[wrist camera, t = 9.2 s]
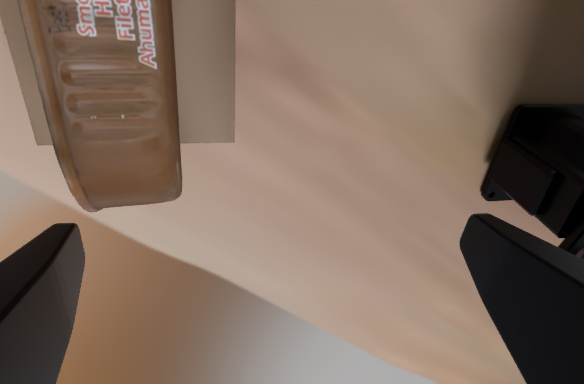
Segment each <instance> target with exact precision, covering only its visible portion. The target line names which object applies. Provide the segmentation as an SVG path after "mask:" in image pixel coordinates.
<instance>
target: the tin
mask: <svg viewBox="0 0 584 384" xmlns="http://www.w3.org/2000/svg"><path fill="white" fill-rule="evenodd" d="M17 2H18V6H19V12H20V15H21V19H22V23H23V27H24V32H25V36H26V41H27V45H28V48H29V52H30V55H31V59H32V62H33V67H34V71H35V75H36V79H37V83H38V88H39V92H40V95H41V99H42V104H43V109H44V113H45V117H46V120H47V124H48V128H49V132H50V135H51V139H52V143H53V147H54V150H55V153H56V156H57V159H58V162H59V165H60V168H61V170H62V173H63V175H64V177H65V179H66V182H67V184H68V187H69V189H70V191H71V193H72V195H73V196H74V197H75V199H76V201H77V202H78V204H79V205H80V206H81V207H82V208H83V209H84V210H86V211H88V212H97V211H99V210H101V209H103V208H109V207H121V206H133V205H145V204H155V203H162V202H167V201H173V200H175V199H177V198H178V197H179V196H180V195H181V192H182V170H181V154H180V134H179V115H178V99H177V81H176V63H175V47H174V31H173V14H172V0H17Z"/></svg>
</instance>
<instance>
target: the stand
mask: <svg viewBox="0 0 584 384" xmlns="http://www.w3.org/2000/svg"><path fill="white" fill-rule="evenodd" d="M172 14H173V31H174V47H175V63H176V81H177V99H178V115H179V134H180V143H234V142H235V0H172ZM0 16H1V20H2V23H3V27H4V30H5V34H6V38H7V41H8V45H9V48H10V52H11V55H12V59H13V62H14V66H15V69H16V73H17V76H18V80H19V83H20V87H21V90H22V94H23V97H24V101H25V104H26V108H27V112H28V115H29V119H30V122H31V126H32V129H33V133H34V136H35V140H36V143H37V145H53V143H52V139H51V135H50V132H49V128H48V124H47V120H46V117H45V113H44V109H43V104H42V99H41V95H40V92H39V88H38V83H37V79H36V75H35V71H34V67H33V62H32V59H31V55H30V52H29V48H28V45H27V41H26V36H25V32H24V27H23V23H22V19H21V15H20V12H19V6H18V2H17V0H0Z"/></svg>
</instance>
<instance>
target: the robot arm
mask: <svg viewBox="0 0 584 384" xmlns="http://www.w3.org/2000/svg"><path fill="white" fill-rule="evenodd" d="M523 112H524V114H523V115H522V113H523ZM521 115H522V116H521ZM489 193H490V194H489ZM481 195H482V197H483V198H484V199H485V200H486V201H503V200H514V201H515V202H516V203H517V204H518V205H520V206H521V207H522V208H523V209H524V210H525V211H526V212H527V213H528V214H529V215H531V216H535V217H536V218H537V219H538V220H539V221H540V222H541V223H543V224H544V225H545V226H546V227H547V228H548V229H549V230H550V231H551V232H553V233H554V234H555V235H556V236H557V237H558V238H565V239H564V240H563V241H562V242H561V244H560V245H559V246H558V247H556V246H554V245H552V244H550V243H548V242H546V241H544V240H542V239H540V238H538V237H536V236H534V235H532V234H530V233H528V232H526V231H524V230H522V229H519V228H517V227H515V226H513V225H511V224H509V223H507V222H505V221H503V220H501V219H499V218H497V217H495V216H493V215H491V214H487V213H483V214H473V215H471V216H470V217H469V219H468V221H467V224H466V226H465V229H464V231H463V233H462V236H461V238H460V249H461V252H462V254H463V257H464V259H465V261H466V264H467V266H468V269H469V271H470V273H471V276H472V278H473V281H474V283H475V285H476V288H477V290H478V293H479V295H480V297H481V299H482V302H483V304H484V305H485V307H486V309H487V311H488V313H489V315H490V317H491V319H492V321H493V322H494V324H495V326H496V328H497V330H498V332H499V334H500V335H501V337H502V339H503V341H504V343H505V345H506V347H507V348H508V350H509V352H510V354H511V356H512V358H513V359H514V361H515V363H516V365H517V367H518V369H519V371H520V372H521V374H522V376H523V378H524V380H525V382H526V384H584V105H550V104H523V105H520V106H518V107H517V108H516V109H515V110H514V112H513V114H512V116H511V119H510V121H509V124H508V126H507V129H506V131H505V134H504V136H503V139H502V141H501V144H500V147H499V149H498V152H497V154H496V157H495V159H494V162H493V164H492V167H491V169H490V172H489V174H488V177H487V179H486V182H485V184H484V187H483V189H482V192H481ZM84 266H85V252H84V248H83V243H82V240H81V235H80V230H79V227H78V225H77V224H75V223H57V224H54V225H52V226H51V227H49V228H48V229H46V230H45V231H43V232H42V233H41V234H39V235H38V236H36V237H35V238H34V239H32V240H31V241H29V242H28V243H27V244H25V245H24V246H22V247H21V248H20V249H18V250H17V251H15V252H14V253H13V254H11V255H10V256H9V257H7V258H6V259H4V260H3V261H2V262H0V384H56V381H57V378H58V375H59V372H60V369H61V366H62V363H63V359H64V356H65V353H66V350H67V347H68V344H69V340H70V337H71V334H72V330H73V325H74V320H75V315H76V310H77V304H78V299H79V293H80V288H81V282H82V277H83V271H84Z"/></svg>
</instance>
